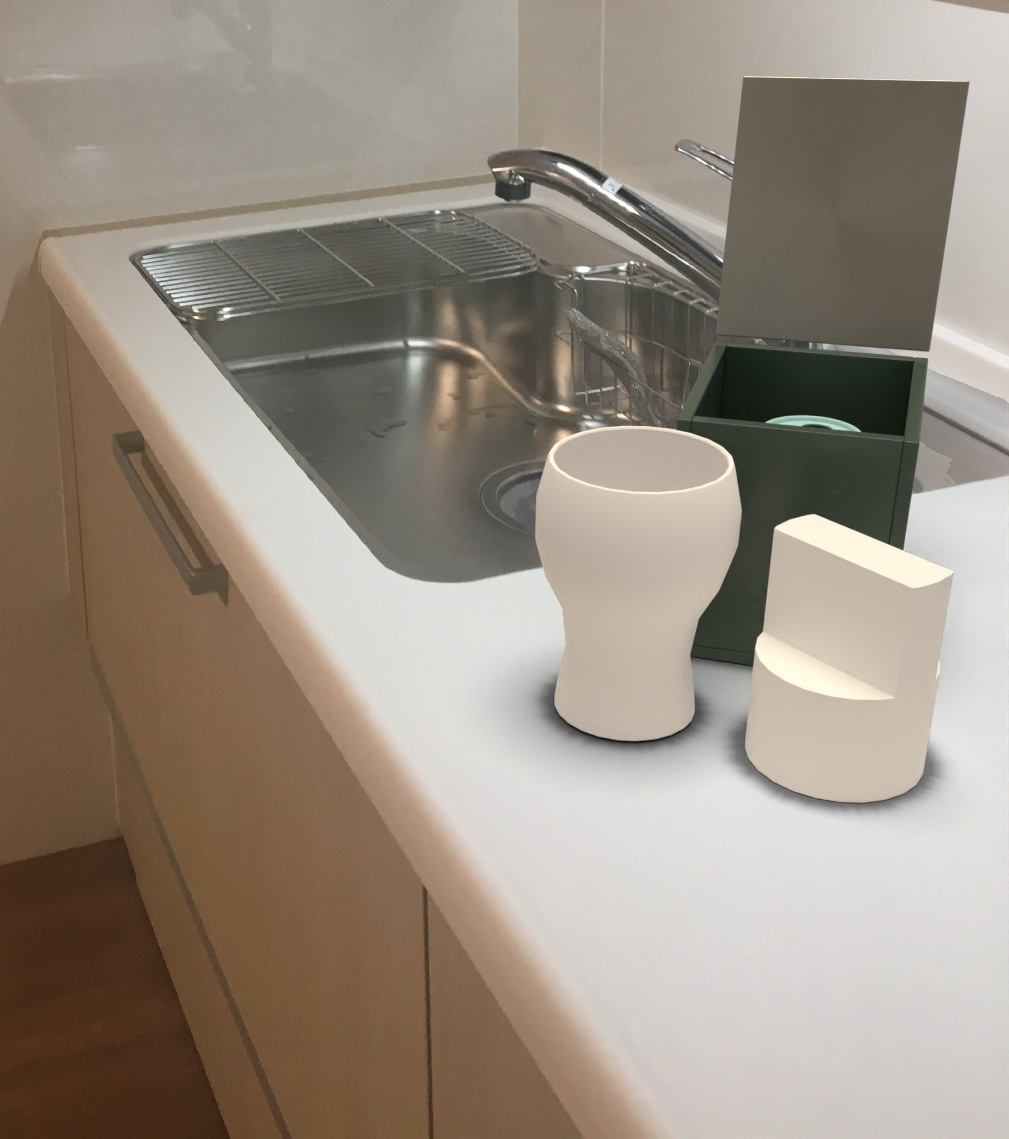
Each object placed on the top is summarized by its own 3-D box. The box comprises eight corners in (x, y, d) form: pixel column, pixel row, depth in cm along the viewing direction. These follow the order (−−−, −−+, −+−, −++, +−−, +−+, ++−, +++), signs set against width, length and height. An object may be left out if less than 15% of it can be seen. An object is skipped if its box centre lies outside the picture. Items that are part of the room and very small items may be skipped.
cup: (569, 644, 94) (580, 410, 88) (744, 685, 89) (770, 440, 82) (498, 727, 86) (504, 476, 79) (686, 776, 81) (710, 513, 74)
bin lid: (969, 80, 89) (969, 81, 90) (743, 76, 94) (744, 76, 94) (929, 352, 94) (929, 350, 94) (714, 335, 98) (716, 334, 99)
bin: (882, 685, 89) (919, 442, 82) (658, 651, 93) (677, 419, 86) (895, 576, 101) (928, 357, 94) (696, 551, 105) (715, 340, 99)
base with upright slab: (961, 765, 81) (998, 557, 76) (843, 823, 77) (874, 607, 72) (823, 693, 88) (849, 498, 83) (708, 743, 84) (727, 541, 79)
